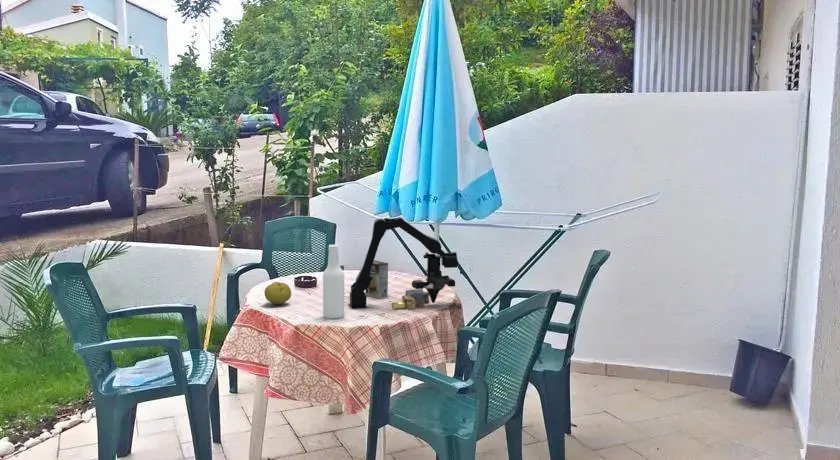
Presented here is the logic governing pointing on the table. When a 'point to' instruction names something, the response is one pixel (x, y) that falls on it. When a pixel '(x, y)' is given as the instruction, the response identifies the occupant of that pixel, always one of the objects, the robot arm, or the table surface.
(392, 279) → the table surface
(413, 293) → the v block
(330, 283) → the alcohol
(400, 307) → the axle
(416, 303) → the block
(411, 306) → the bearing block
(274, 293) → the fruit
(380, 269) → the coffee box
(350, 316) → the table surface
